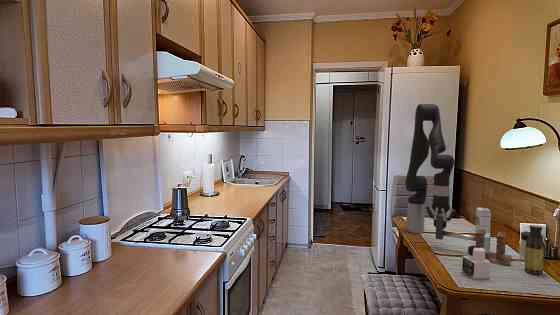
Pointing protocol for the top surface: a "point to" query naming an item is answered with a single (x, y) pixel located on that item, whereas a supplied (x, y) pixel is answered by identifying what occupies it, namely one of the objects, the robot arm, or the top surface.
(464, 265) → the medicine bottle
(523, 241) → the jar
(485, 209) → the syrup box
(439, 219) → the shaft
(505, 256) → the bearing stand
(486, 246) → the spacer
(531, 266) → the sauce bottle
